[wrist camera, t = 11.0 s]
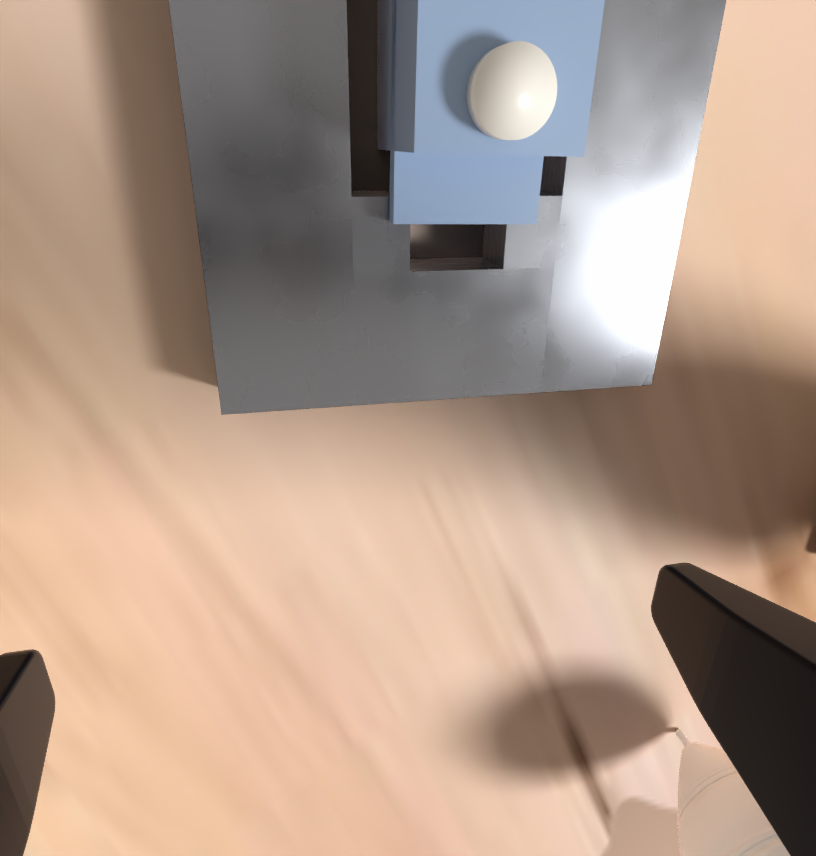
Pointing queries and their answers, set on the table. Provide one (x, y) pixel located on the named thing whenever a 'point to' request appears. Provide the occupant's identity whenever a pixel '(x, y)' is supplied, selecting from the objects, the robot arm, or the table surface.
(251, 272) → the chassis plate
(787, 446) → the table surface
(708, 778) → the spinning top
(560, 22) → the servo
